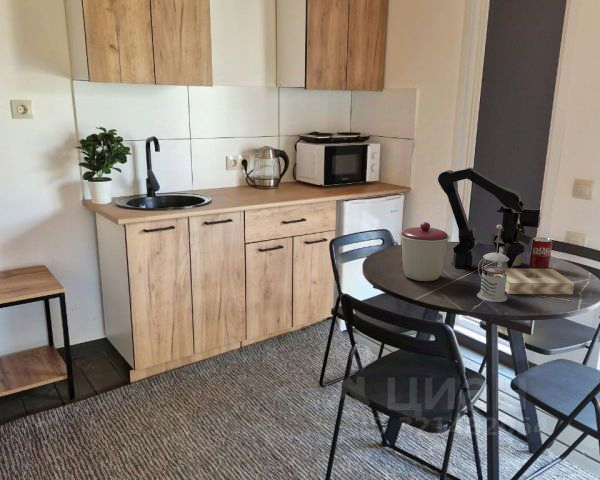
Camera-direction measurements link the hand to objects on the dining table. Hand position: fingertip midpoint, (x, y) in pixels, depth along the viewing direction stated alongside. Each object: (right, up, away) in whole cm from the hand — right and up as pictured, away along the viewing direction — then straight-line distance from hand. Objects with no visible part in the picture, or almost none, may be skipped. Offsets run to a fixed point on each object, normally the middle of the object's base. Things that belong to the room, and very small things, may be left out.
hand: (504, 264), depth 198 cm
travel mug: (+7, -1, +12) cm, 14 cm away
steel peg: (0, -3, +1) cm, 4 cm away
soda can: (+16, -2, +7) cm, 17 cm away
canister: (-33, -5, -5) cm, 34 cm away
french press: (-14, -10, -23) cm, 29 cm away
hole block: (+4, -7, -14) cm, 16 cm away
